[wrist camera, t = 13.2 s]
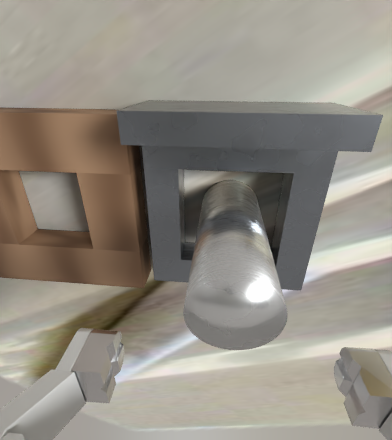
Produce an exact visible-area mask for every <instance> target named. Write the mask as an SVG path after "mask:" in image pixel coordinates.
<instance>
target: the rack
mask: <svg viewBox="0 0 392 440" xmlns="http://www.w3.org/2000/svg"><path fill="white" fill-rule="evenodd" d="M116 112H117V119H118V127H119V134H120V142H121V145H142V153H143V164H144V174H145V185H146V195H147V206H148V217H149V227H150V238H151V248H152V259H153V270H154V280H162V281H176V282H188V281H189V276H190V270H191V264H192V259H193V253H194V247H195V243H188V242H185V210H184V169H186V170H214V171H243V172H271V173H284V177H283V182H282V188H281V194H280V200H279V205H278V211H277V217H276V223H275V228H274V234H273V240H272V246H271V247H270V249H271V252H272V256H273V260H274V264H275V267H276V271H277V275H278V278H279V282H280V286H281V289H288V290H301V289H302V285H303V281H304V277H305V274H306V270H307V266H308V262H309V259H310V255H311V251H312V247H313V244H314V240H315V236H316V232H317V229H318V225H319V221H320V217H321V213H322V210H323V206H324V202H325V198H326V195H327V191H328V187H329V183H330V180H331V176H332V172H333V168H334V165H335V161H336V157H337V153H338V151H358V152H371V151H372V148H373V145H374V142H375V139H376V135H377V132H378V129H379V126H380V123H381V120H382V117H383V115H381V114H377V113H372V112H368V111H364V110H360V109H356V108H352V107H348V106H344V105H340V104H336V103H301V102H224V101H146V102H142V103H139V104H136V105H133V106H130V107H127V108H123V109H120V110H117V111H116Z"/></svg>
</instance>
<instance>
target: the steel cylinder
mask: <svg viewBox="0 0 392 440" xmlns="http://www.w3.org/2000/svg"><path fill="white" fill-rule="evenodd" d="M183 314H184V319H185V322H186V325H187V327H188V328H189V329H190V331H191V332H192V333H193V334H194V335H195V336H196V337H197V338H199V339H200V340H202V341H204V342H205V343H207V344H210V345H212V346H215V347H218V348H223V349H229V350H246V349H252V348H256V347H259V346H262V345H265V344H267V343H269V342H270V341H272V340H273V339H275V338H276V337H277V336H278V335H279V334H280V333H281V332H282V330H283V329H284V327H285V325H286V322H287V309H286V305H285V301H284V297H283V293H282V290H281V286H280V282H279V278H278V275H277V271H276V267H275V264H274V260H273V256H272V252H271V249H270V245H269V241H268V237H267V234H266V230H265V226H264V222H263V219H262V215H261V211H260V207H259V204H258V200H257V197H256V194H255V193H254V191H253V190H252V189H251V188H250V187H249V186H248V185H246V184H245V183H243V182H240V181H236V180H225V181H221V182H219V183H216V184H215V185H213V186H212V187H211V188H210V189H209V190H208V191H207V192H206V194H205V196H204V198H203V202H202V208H201V213H200V219H199V225H198V230H197V236H196V242H195V247H194V253H193V259H192V264H191V270H190V276H189V281H188V287H187V293H186V298H185V304H184V312H183Z"/></svg>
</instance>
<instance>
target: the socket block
mask: <svg viewBox="0 0 392 440" xmlns="http://www.w3.org/2000/svg"><path fill="white" fill-rule="evenodd" d="M116 111H117V110H111V109H49V108H0V277H2V278H15V279H29V280H42V281H56V282H69V283H83V284H96V285H110V286H123V287H137V288H144V287H145V284H146V281H147V279H148V276H149V274H150V271H151V263H150V253H149V243H148V233H147V223H146V213H145V203H144V193H143V183H142V173H141V163H140V153H139V145H121V142H120V134H119V127H118V119H117V112H116ZM19 171H44V172H71V173H76V174H77V178H78V183H79V187H80V191H81V196H82V200H83V205H84V209H85V214H86V218H87V223H88V227H89V232H79V231H62V230H44V229H38V228H37V225H36V222H35V219H34V216H33V213H32V210H31V207H30V204H29V201H28V198H27V195H26V192H25V189H24V186H23V183H22V180H21V177H20V174H19Z"/></svg>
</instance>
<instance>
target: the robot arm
mask: <svg viewBox="0 0 392 440" xmlns="http://www.w3.org/2000/svg"><path fill="white" fill-rule="evenodd" d="M121 338H122V336H121V332H120V331H109V330H98V329H87V328H80V329H79V330H78V331H77V332H76V334H75V335H74V337H73V339H72V341H71V343H70V344H69V346H68V348H67V350H66V352H65V353H64V355H63V357H62V359H61V360H60V362H59V364H58V366H57V368H56V369H55V370H50V371H49V372H48V373H46V374H45V375H44V376H43V377H41V378H40V379H39V380H37V381H36V382H35V383H34V384H32V385H31V386H30V387H28V388H27V389H26V390H24V392H22V393H21V394H19V395H18V396H17V397H15V398H14V399H13V400H12V401H10V402H9V403H8V404H7V405H5V406H4V407H3V408H1V409H0V440H53V439H54V438H55V437H56V436H57V435H58V433H59V432H60V431H61V430H62V429H63V428H64V427H65V426H66V425H67V424H68V423H69V421H70V420H71V419H72V418H73V417H74V416H75V415H76V414H77V413H78V412H79V410H80V409H81V408H82V407H83V406H84V405H85V404H86V402H99V403H109V402H110V399H111V397H112V394H113V391H114V388H115V385H116V382H115V378H114V376H116V375H117V374H118V373H119V372H120V370H121V367H122V364H123V358H124V346H123V344H122V343H121V342H120V341H121ZM340 356H341V359H339V360H337V361H336V363H335V366H334V376H335V381H336V384H337V387H338V389H339V390H340V391H341V393H342V394H343V395H344V396H345V401H344V405H345V408H346V411H347V413H348V416H349V419H350V421H351V424H352V425H353V426H361V427H369V428H378V429H379V431H380V432H381V433H382V434H383V436H384V437H385V438H386V439H387V440H392V352H391V351H388V350H374V349H366V348H348V347H344V348H342V349H341V351H340Z"/></svg>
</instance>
